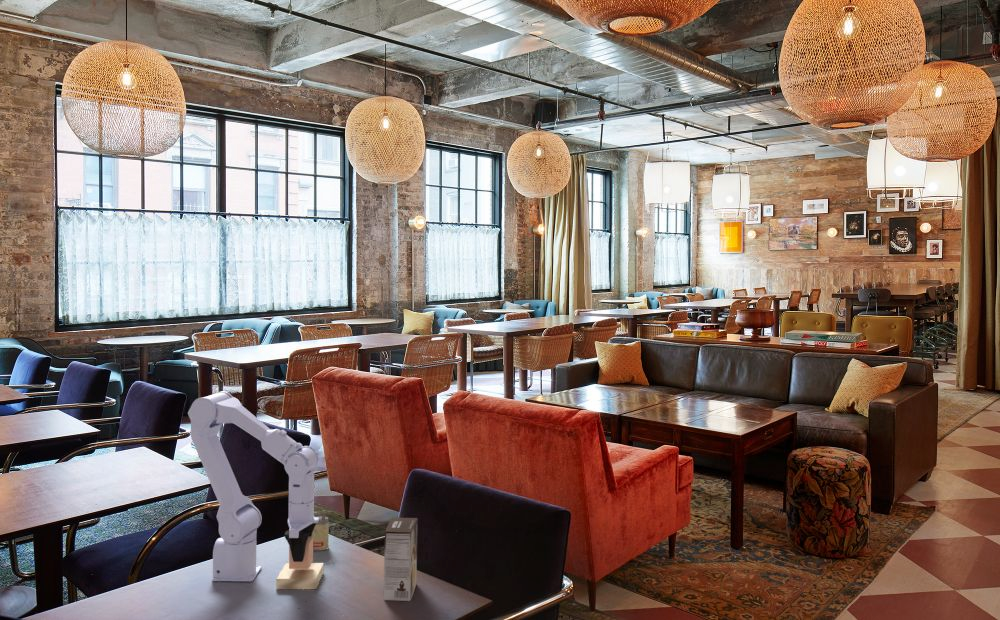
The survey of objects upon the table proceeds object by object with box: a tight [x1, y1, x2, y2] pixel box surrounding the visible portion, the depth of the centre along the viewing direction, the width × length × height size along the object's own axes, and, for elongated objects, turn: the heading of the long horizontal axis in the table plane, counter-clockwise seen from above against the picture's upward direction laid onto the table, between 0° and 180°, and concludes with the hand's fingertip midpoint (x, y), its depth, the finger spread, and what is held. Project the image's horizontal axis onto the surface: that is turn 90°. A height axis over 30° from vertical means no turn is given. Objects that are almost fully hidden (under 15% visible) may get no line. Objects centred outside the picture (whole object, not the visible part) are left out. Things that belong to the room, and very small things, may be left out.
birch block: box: [275, 562, 325, 591], centre depth 173 cm, size 9×9×3 cm
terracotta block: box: [288, 537, 314, 569], centre depth 173 cm, size 4×4×6 cm
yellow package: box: [311, 509, 330, 551], centre depth 193 cm, size 7×4×10 cm, turn 97°
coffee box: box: [383, 517, 419, 602], centre depth 169 cm, size 9×6×16 cm
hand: (300, 556), depth 173 cm, fingers closed on terracotta block, 4 cm apart
